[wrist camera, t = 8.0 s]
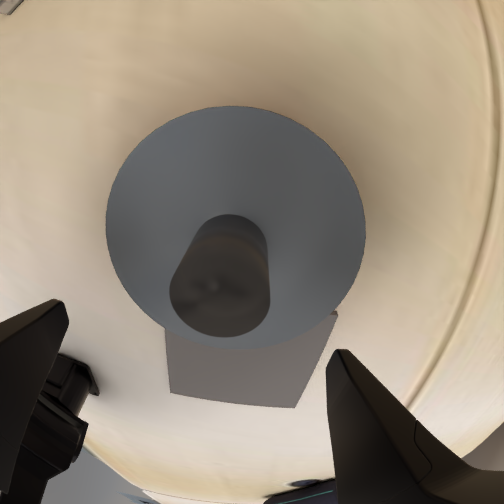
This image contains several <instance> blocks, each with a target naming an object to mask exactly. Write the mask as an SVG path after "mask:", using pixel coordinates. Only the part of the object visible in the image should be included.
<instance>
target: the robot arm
mask: <svg viewBox="0 0 504 504" xmlns="http://www.w3.org/2000/svg"><path fill="white" fill-rule="evenodd" d="M68 325H69V319H68V315H67V312H66V308H65V304H64V303H63V302H62V301H60V300H57V299H51V300H49V301H47V302H45V303H42V304H40V305H38V306H36V307H33V308H31V309H29V310H27V311H24V312H22V313H20V314H18V315H16V316H13V317H11V318H9V319H7V320H5V321H3V322H1V323H0V490H1V492H0V504H41V500H42V497H43V494H44V490H45V488H46V484H47V482H48V480H49V479H51V478H52V477H54V476H56V475H58V474H60V473H61V472H63V471H65V470H67V469H68V468H69V466H70V464H71V462H72V463H74V462H75V461H76V459H77V458H78V456H79V454H80V451H81V449H82V445H83V442H84V438H85V435H86V431H87V428H88V425H89V423H87V422H84V421H83V420H81V419H80V418H78V415H79V412H80V410H81V408H82V406H83V404H84V402H85V400H86V398H87V396H88V394H89V393H90V394H93V395H96V396H99V391H98V388H97V386H96V384H95V381H94V379H93V377H92V374H91V372H90V369H89V367H88V366H87V365H85V364H83V363H80V362H77V361H74V360H72V359H69V358H67V357H64V356H62V355H59V354H58V351H59V348H60V346H61V343H62V341H63V338H64V336H65V333H66V331H67V328H68ZM326 393H327V415H328V423H329V430H330V437H331V445H332V453H333V461H334V469H335V478H336V488H337V498H338V504H504V471H491V470H481V469H477V468H474V467H472V466H470V465H468V464H467V463H466V462H465V461H463V460H462V459H461V458H460V457H458V456H457V455H456V454H455V453H453V452H452V451H451V450H450V449H448V448H447V447H446V446H445V445H444V444H442V443H441V442H440V441H439V440H438V439H437V438H436V437H434V436H433V435H432V434H431V433H430V432H429V431H428V430H427V429H426V428H425V427H424V426H423V425H422V424H421V423H420V422H419V421H418V420H416V418H415V417H414V416H413V415H412V414H411V413H410V412H409V411H408V410H407V409H406V408H405V407H404V406H403V405H402V404H401V403H400V402H399V401H398V400H397V399H396V398H395V397H394V396H393V395H392V394H391V393H390V391H389V390H388V389H387V388H386V387H385V386H384V385H383V384H382V383H381V382H380V381H379V380H378V379H377V378H376V377H375V376H374V375H373V374H372V373H371V372H370V371H369V370H368V369H367V368H366V367H365V366H364V365H363V364H362V363H361V362H360V361H359V360H358V359H357V358H356V357H355V356H354V355H353V354H352V353H351V352H350V351H349V350H347V349H336V350H335V351H334V352H333V354H332V356H331V358H330V360H329V362H328V364H327V367H326Z"/></svg>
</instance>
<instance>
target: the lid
mask: <svg viewBox="0 0 504 504" xmlns="http://www.w3.org/2000/svg"><path fill="white" fill-rule="evenodd" d="M106 238H107V245H108V250H109V254H110V257H111V261H112V264H113V266H114V269H115V271H116V274H117V276H118V278H119V279H120V281H121V283H122V285H123V287H124V288H125V290H126V291H127V292H128V294H129V295H130V297H131V298H132V299H133V301H134V302H135V303H136V304H137V305H138V306H139V307H140V308H141V309H142V310H143V311H144V312H145V313H146V314H147V315H148V316H149V317H150V318H152V319H153V320H154V321H155V322H157V323H158V324H160V325H161V326H163V327H164V328H165V329H167V330H169V331H171V332H173V333H174V334H176V335H178V336H180V337H183V338H185V339H187V340H190V341H193V342H196V343H199V344H202V345H206V346H211V347H216V348H223V349H256V348H263V347H268V346H272V345H276V344H279V343H282V342H285V341H288V340H291V339H293V338H295V337H297V336H300V335H302V334H303V333H305V332H307V331H309V330H310V329H312V328H313V327H315V326H316V325H318V324H319V323H320V322H321V321H323V320H324V319H325V318H326V317H328V316H329V315H330V314H331V313H332V312H333V311H334V310H335V309H336V308H337V306H338V305H339V304H340V303H341V301H342V300H343V299H344V297H345V296H346V295H347V293H348V291H349V290H350V288H351V286H352V285H353V283H354V280H355V278H356V276H357V273H358V271H359V269H360V265H361V261H362V258H363V254H364V247H365V239H366V231H365V216H364V210H363V205H362V201H361V198H360V195H359V192H358V189H357V186H356V184H355V182H354V180H353V178H352V176H351V174H350V172H349V170H348V169H347V168H346V166H345V165H344V163H343V162H342V160H341V159H340V158H339V156H338V155H337V154H336V153H335V152H334V151H333V150H332V149H331V148H330V147H329V145H328V144H327V143H326V142H325V141H323V140H322V139H321V138H320V137H318V136H317V135H316V134H315V133H313V132H312V131H311V130H309V129H308V128H306V127H304V126H303V125H301V124H299V123H297V122H295V121H294V120H292V119H290V118H287V117H284V116H282V115H279V114H276V113H274V112H271V111H267V110H262V109H257V108H252V107H241V106H222V107H212V108H206V109H202V110H198V111H194V112H190V113H187V114H185V115H182V116H180V117H178V118H175V119H173V120H171V121H169V122H167V123H166V124H164V125H162V126H161V127H159V128H158V129H156V130H154V131H153V132H152V133H151V134H150V135H148V136H147V137H146V138H145V139H144V140H142V141H141V142H140V143H139V144H138V146H137V147H136V148H135V149H134V150H133V151H132V152H131V154H130V155H129V156H128V158H127V159H126V161H125V162H124V164H123V165H122V167H121V168H120V170H119V172H118V174H117V176H116V179H115V181H114V183H113V185H112V189H111V192H110V196H109V199H108V204H107V211H106Z"/></svg>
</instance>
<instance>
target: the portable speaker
mask: <svg viewBox="0 0 504 504" xmlns="http://www.w3.org/2000/svg"><path fill="white" fill-rule="evenodd" d="M263 504H338V498H337V488H336V480H333V481H327V482H324V483H321V484H318V485H315V486H312V487H308V488H305V489H301V490H298V491H294V492H290V493H286V494H282V495H278V496H274V497H272V498H269V499H268V500H266V501H265V502H264V503H263Z"/></svg>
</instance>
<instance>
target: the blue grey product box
mask: <svg viewBox="0 0 504 504" xmlns="http://www.w3.org/2000/svg"><path fill="white" fill-rule="evenodd" d="M22 1H23V0H0V13H1V14H8V15H10V14H11V13H12V12H13V10H14V9H15V8H16V7H17V6H18V5H19V4H20V3H21V2H22Z"/></svg>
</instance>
